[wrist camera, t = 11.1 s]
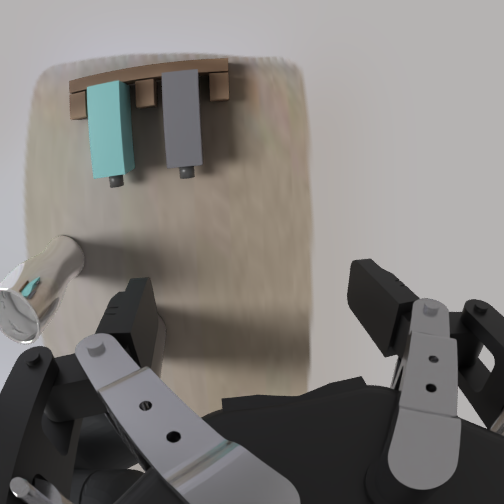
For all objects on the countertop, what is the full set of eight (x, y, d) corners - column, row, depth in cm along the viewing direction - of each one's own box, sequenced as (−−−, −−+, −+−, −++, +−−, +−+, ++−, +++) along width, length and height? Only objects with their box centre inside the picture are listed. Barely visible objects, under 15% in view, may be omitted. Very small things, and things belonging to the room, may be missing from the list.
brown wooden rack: (227, 100, 32) (229, 98, 30) (78, 119, 30) (70, 119, 28) (226, 62, 31) (227, 58, 28) (77, 83, 29) (69, 81, 26)
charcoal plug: (204, 172, 36) (203, 179, 31) (173, 175, 35) (168, 182, 31) (198, 77, 31) (197, 69, 26) (167, 80, 31) (161, 72, 26)
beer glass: (54, 282, 38) (6, 347, 24) (38, 237, 35) (-22, 290, 21) (94, 275, 38) (52, 344, 24) (78, 227, 35) (23, 281, 22)
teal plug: (136, 180, 35) (126, 188, 30) (108, 183, 34) (95, 192, 30) (130, 86, 30) (118, 80, 26) (101, 91, 30) (86, 87, 25)
